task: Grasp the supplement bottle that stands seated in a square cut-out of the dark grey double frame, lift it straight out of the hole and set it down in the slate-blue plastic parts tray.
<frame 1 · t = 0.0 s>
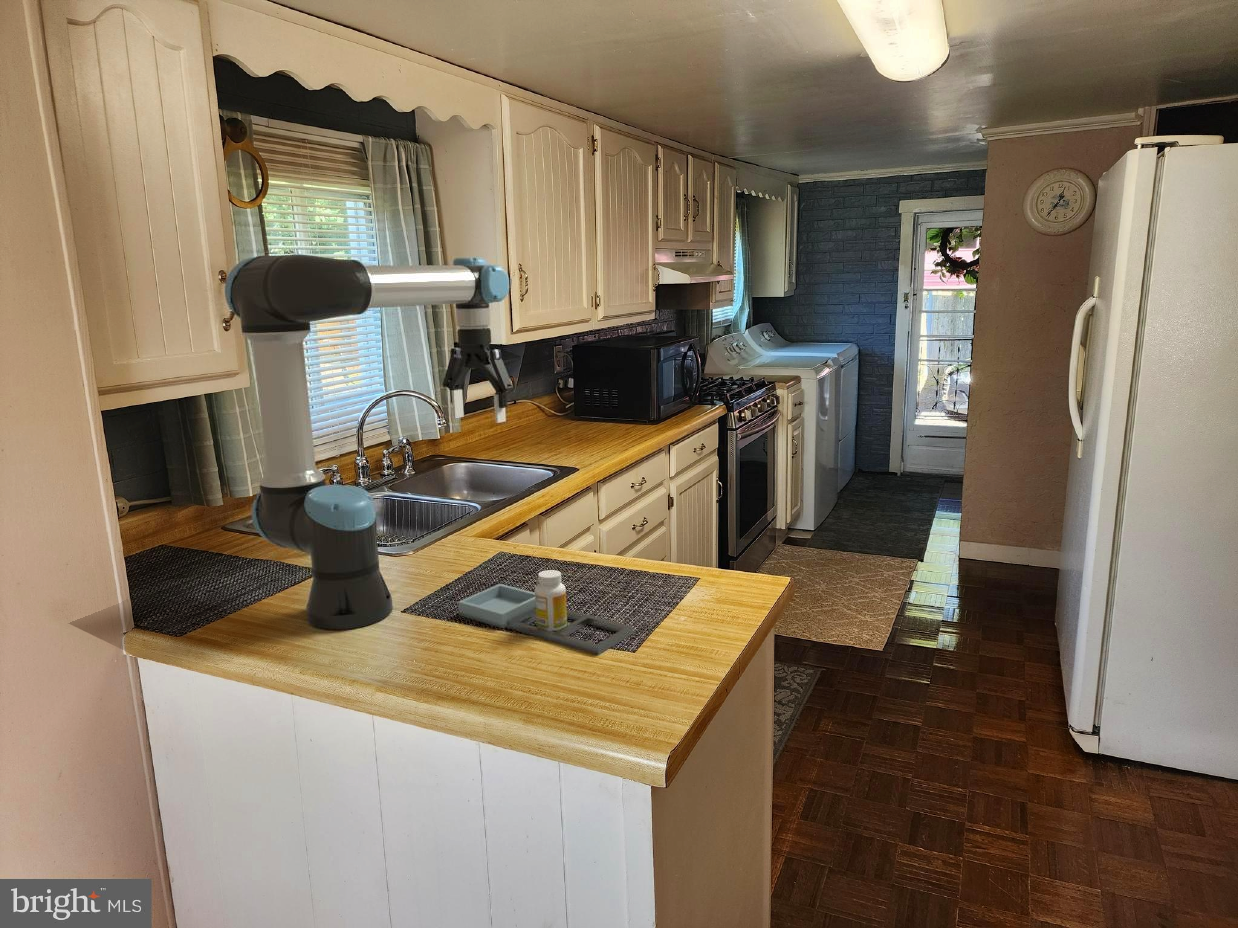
hand: (479, 419, 197), 28 cm above the worktop, fingers open, 13 cm apart
supplement bottle: (551, 626, 149), resting in dark grey double frame
dark grey double frame: (569, 630, 147), on the worktop
parts tray: (501, 611, 156), on the worktop
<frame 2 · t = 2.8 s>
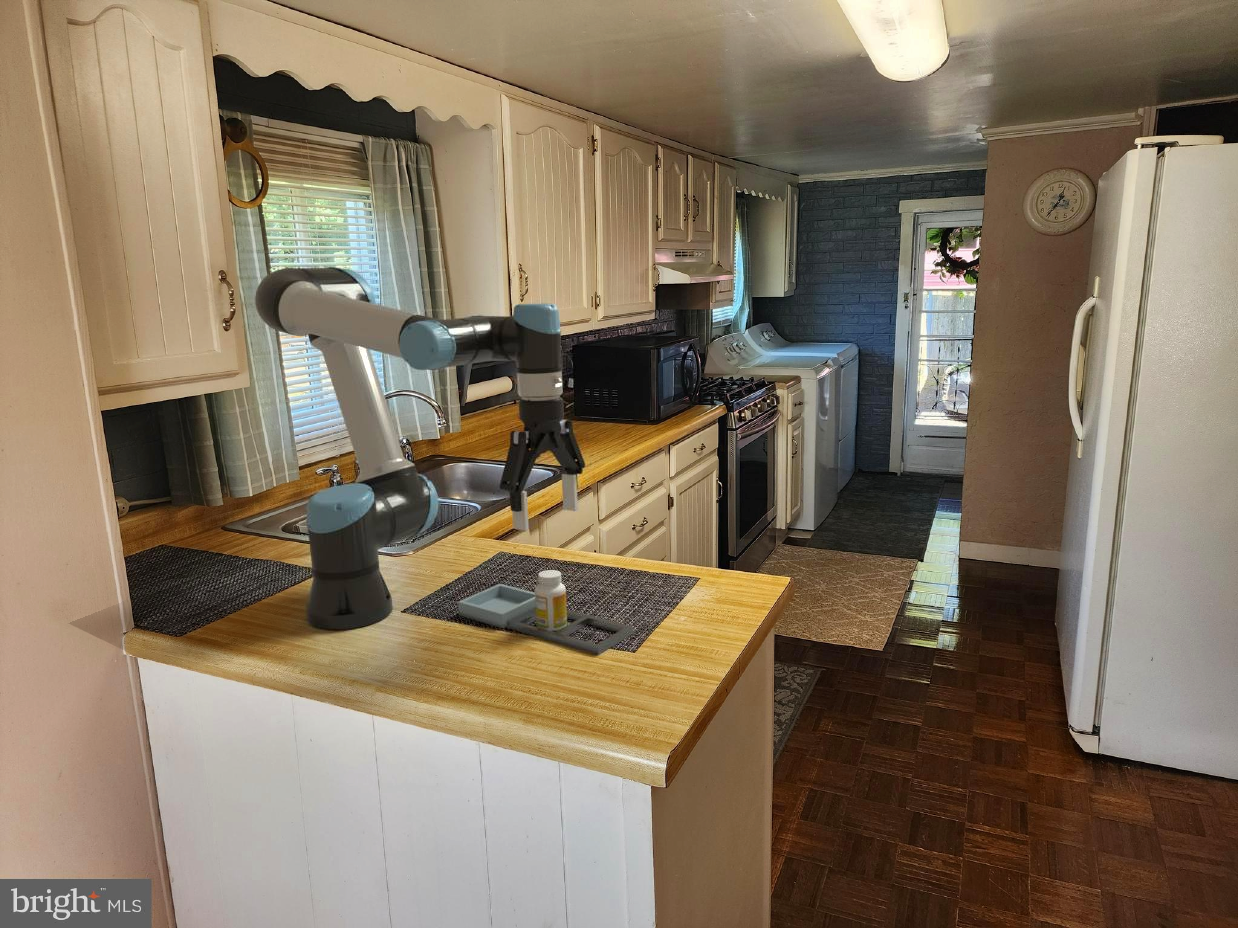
hand: (546, 519, 146), 19 cm above the worktop, fingers open, 13 cm apart
nothing on the worktop moved.
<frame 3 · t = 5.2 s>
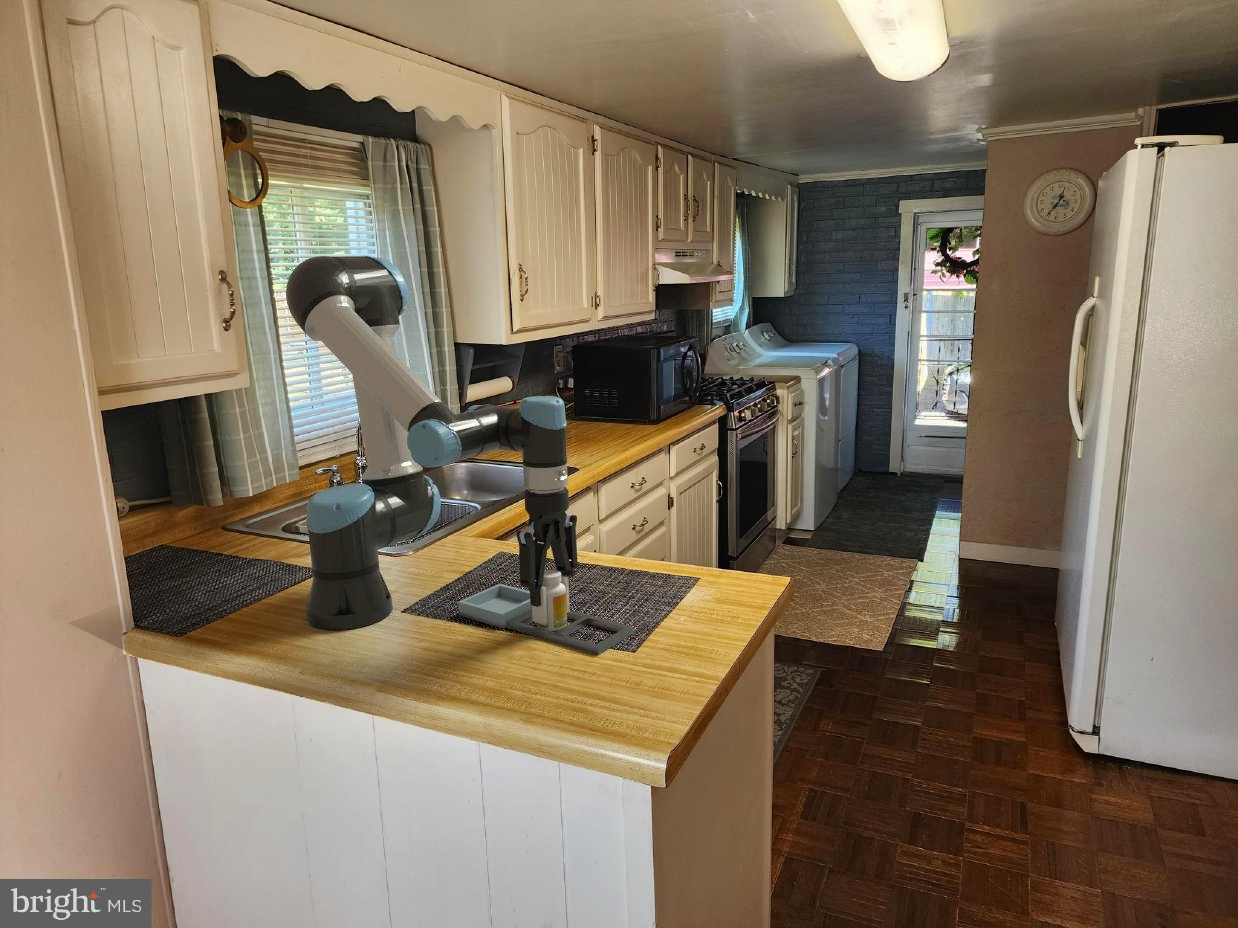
hand: (551, 615, 149), 2 cm above the worktop, fingers closed on supplement bottle, 5 cm apart
supplement bottle: (551, 626, 149), resting in dark grey double frame, touching gripper
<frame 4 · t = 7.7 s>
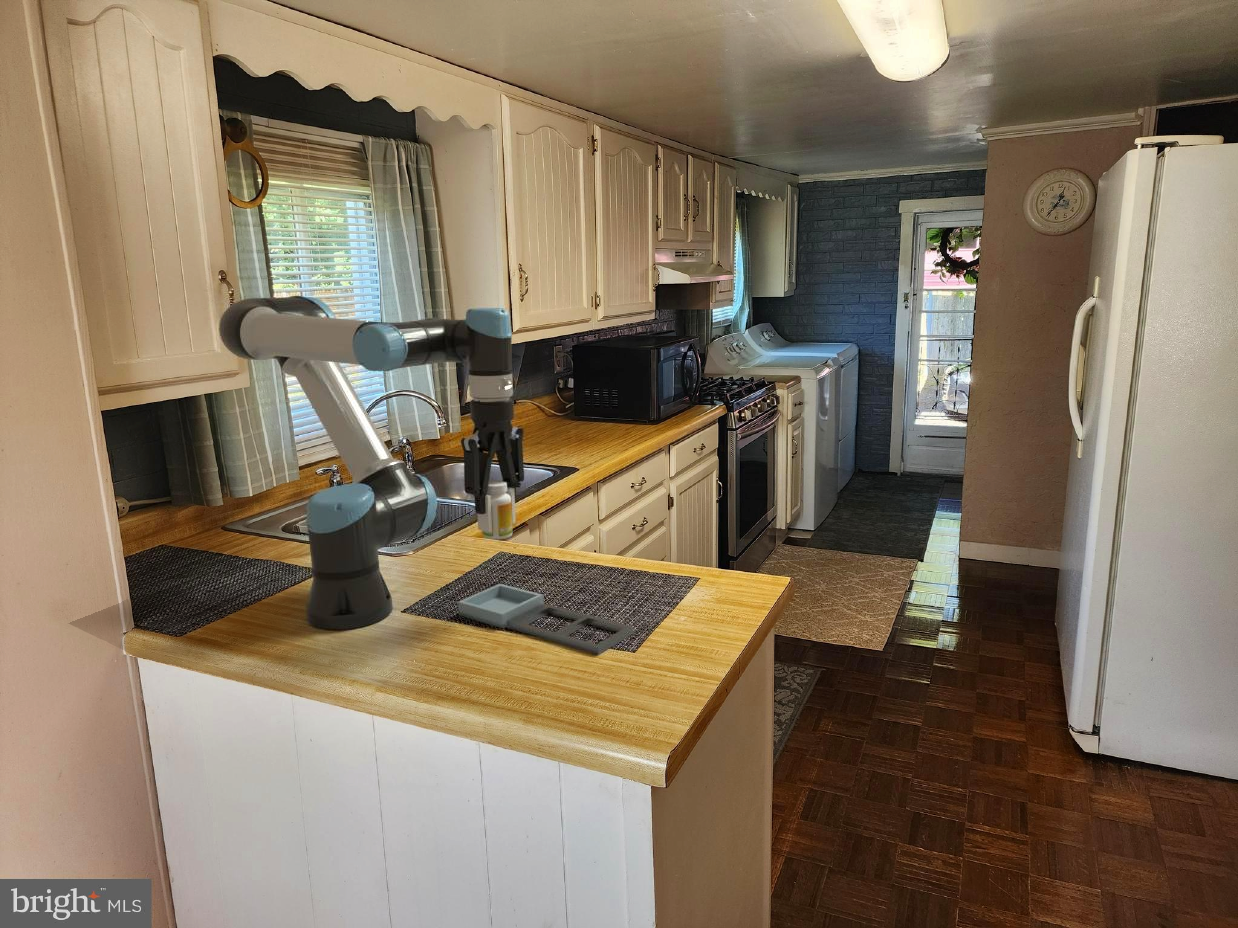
hand: (497, 525, 152), 16 cm above the worktop, fingers closed on supplement bottle, 5 cm apart
supplement bottle: (497, 536, 153), point 14 cm above the worktop, touching gripper
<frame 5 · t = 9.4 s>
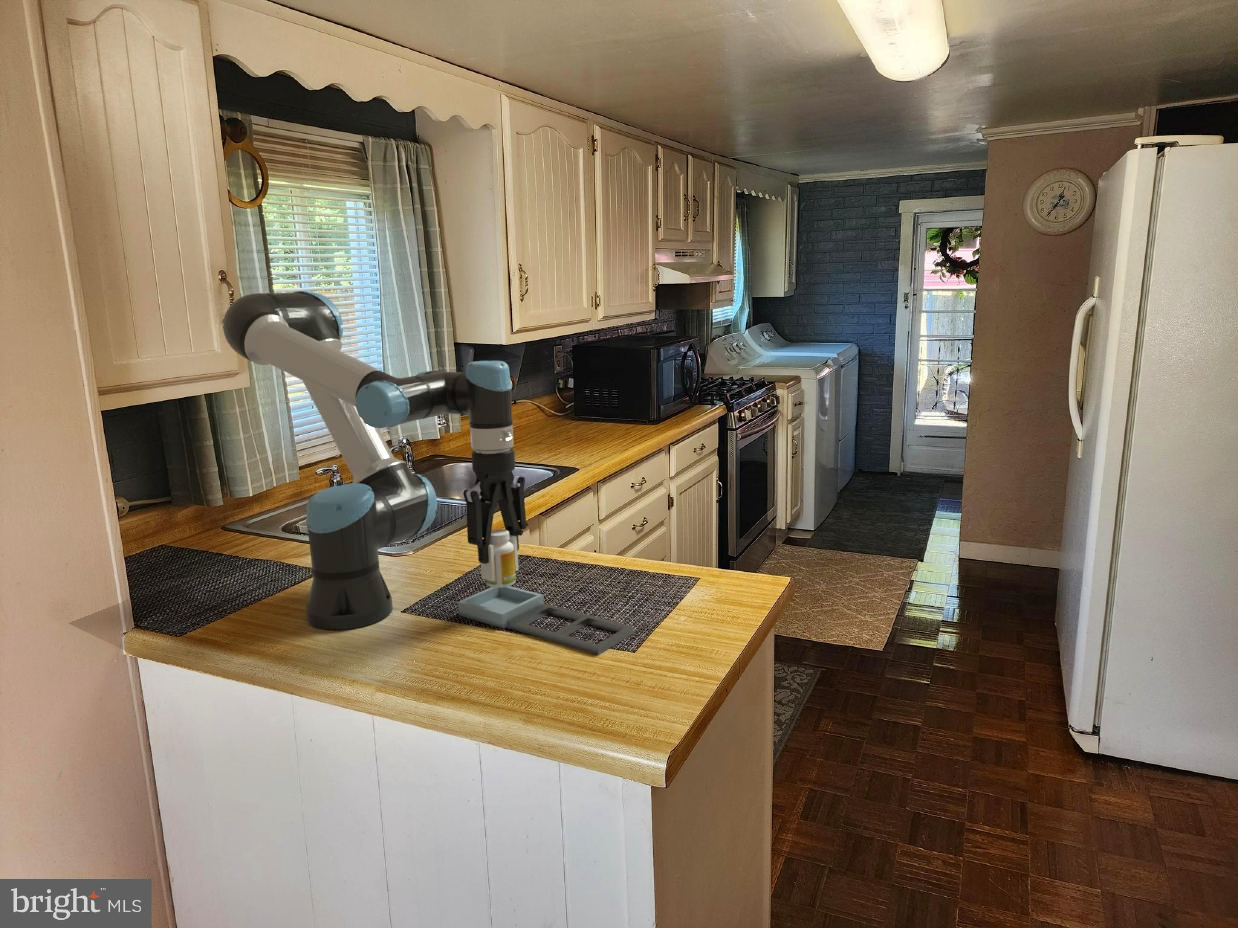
hand: (500, 573, 154), 7 cm above the worktop, fingers closed on supplement bottle, 5 cm apart
supplement bottle: (501, 584, 155), point 5 cm above the worktop, touching gripper
when the fingers open (4 cm above the worktop, at t = 10.4 s): supplement bottle drops 2 cm, resting on parts tray.
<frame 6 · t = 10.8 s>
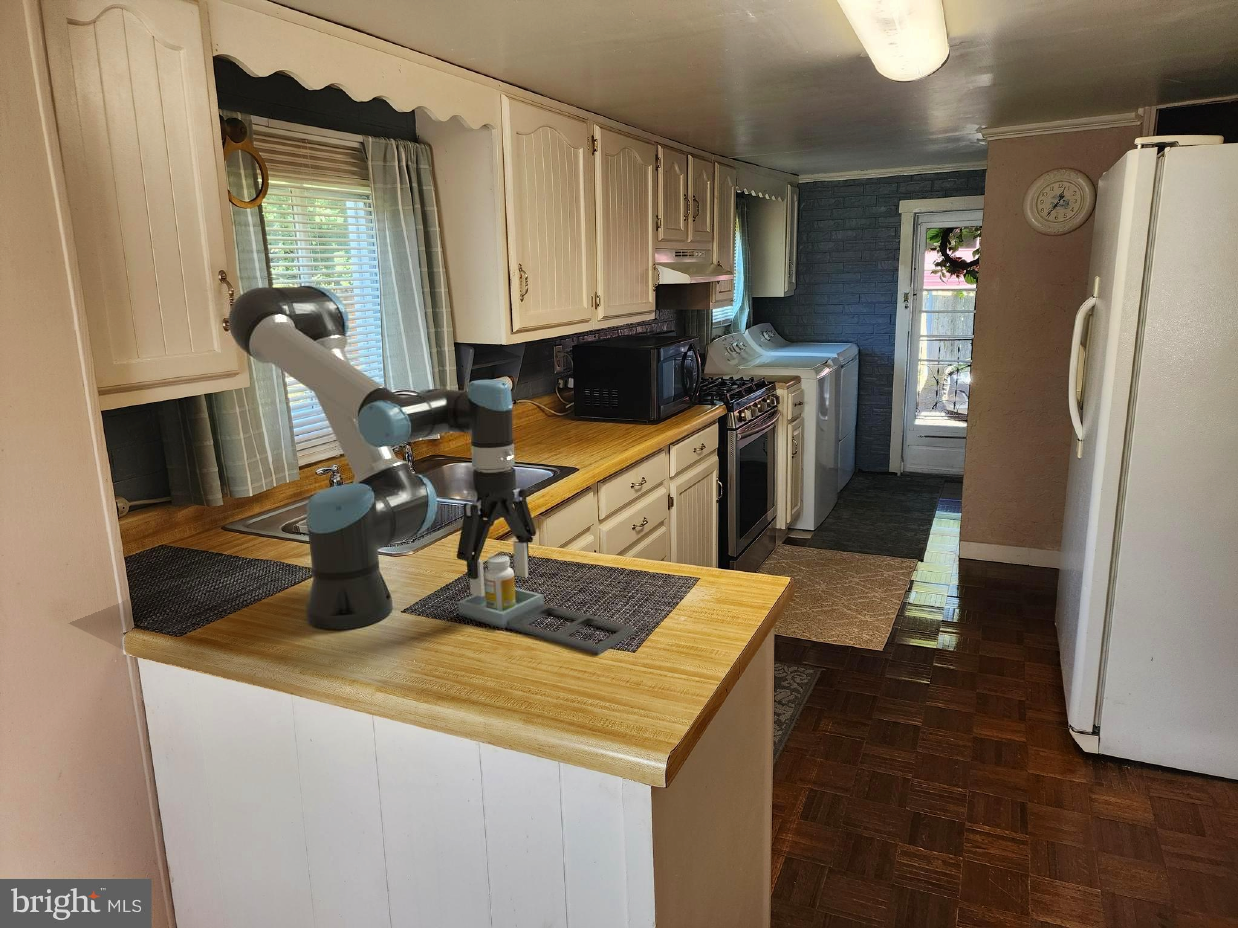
hand: (500, 584, 155), 5 cm above the worktop, fingers open, 11 cm apart
supplement bottle: (501, 609, 156), resting on parts tray
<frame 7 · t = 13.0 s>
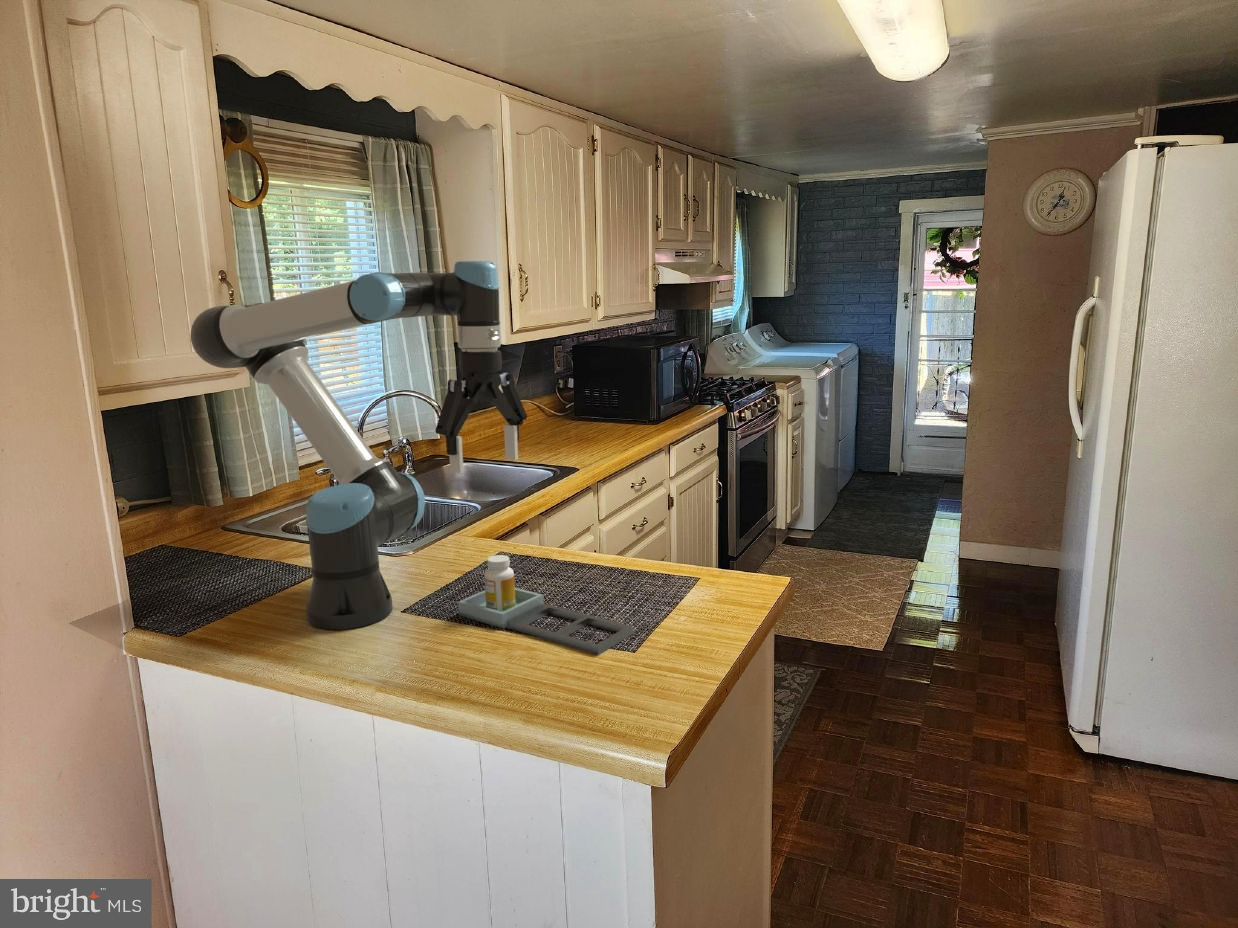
hand: (485, 465, 156), 26 cm above the worktop, fingers open, 13 cm apart
nothing on the worktop moved.
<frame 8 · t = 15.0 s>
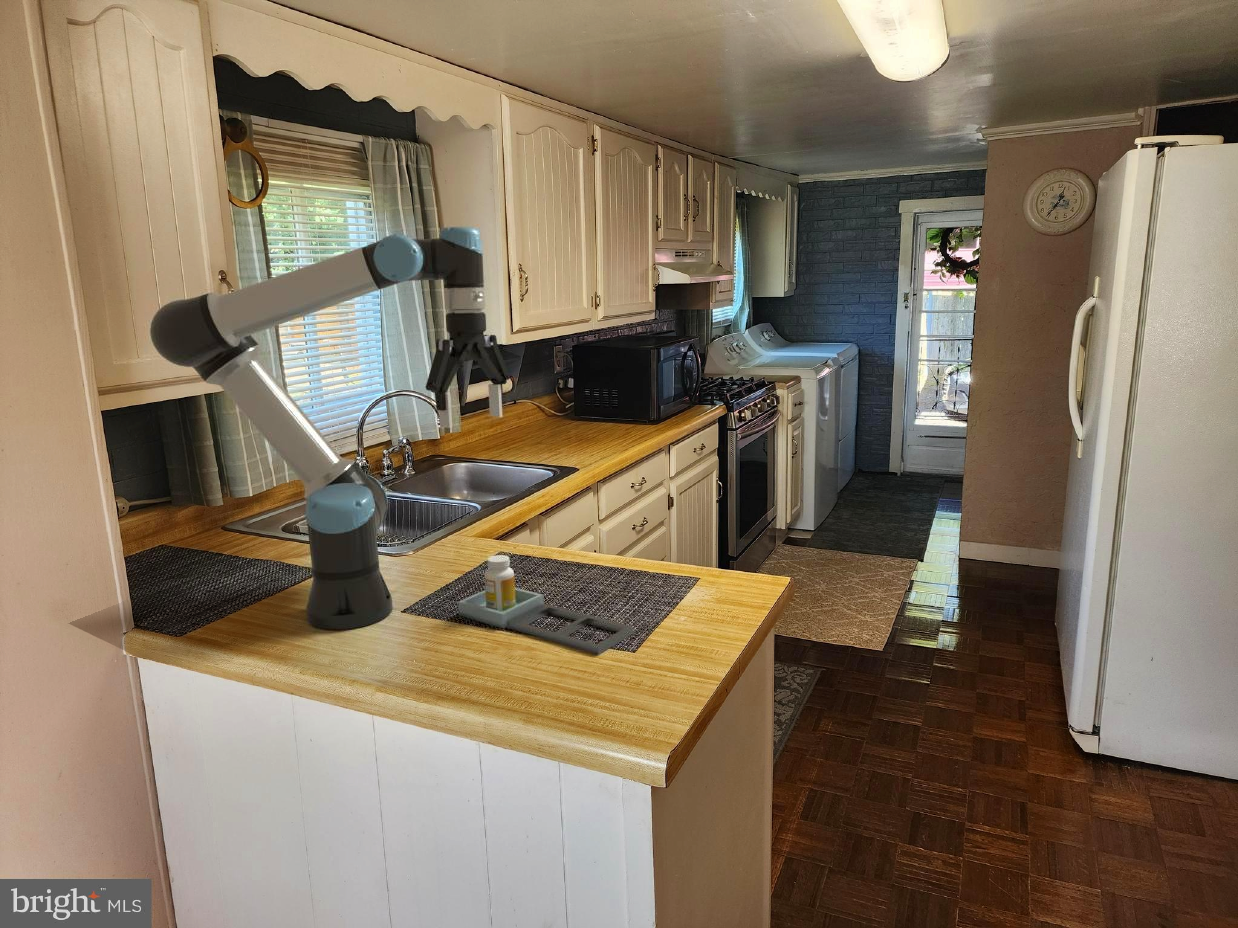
hand: (472, 422, 165), 33 cm above the worktop, fingers open, 13 cm apart
nothing on the worktop moved.
at the end: supplement bottle inside the target area on the parts tray (0.1 cm from its centre), point 0.4 cm above the parts tray's base; supplement bottle tilted 0°; the gripper is holding nothing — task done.
